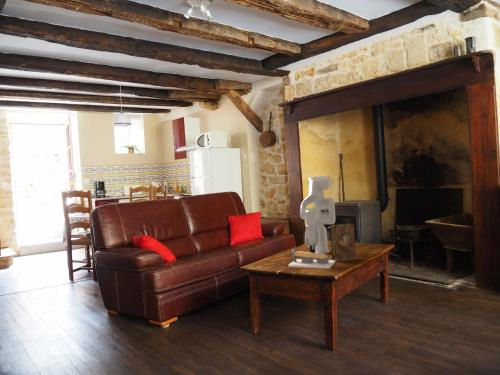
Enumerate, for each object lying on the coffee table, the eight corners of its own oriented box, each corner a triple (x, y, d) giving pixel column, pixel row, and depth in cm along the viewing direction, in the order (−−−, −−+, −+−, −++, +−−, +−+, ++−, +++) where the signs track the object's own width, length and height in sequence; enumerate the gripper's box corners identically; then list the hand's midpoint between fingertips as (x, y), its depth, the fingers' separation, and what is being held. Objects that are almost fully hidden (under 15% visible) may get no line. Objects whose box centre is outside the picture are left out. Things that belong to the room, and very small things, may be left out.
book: (353, 258, 295) (351, 223, 294) (357, 259, 289) (355, 224, 288) (331, 260, 291) (330, 225, 291) (335, 262, 286) (333, 226, 285)
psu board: (296, 261, 296) (295, 253, 296) (335, 262, 285) (334, 254, 285) (288, 266, 279) (288, 258, 279) (329, 268, 268) (329, 259, 268)
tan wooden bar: (294, 255, 289) (293, 249, 289) (326, 259, 271) (326, 252, 271) (291, 256, 287) (290, 250, 286) (323, 260, 269) (323, 253, 269)
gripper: (313, 226, 287) (314, 252, 288) (300, 229, 277) (301, 256, 277) (322, 226, 282) (323, 253, 283) (309, 229, 271) (311, 257, 272)
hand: (312, 254), depth 280 cm, fingers closed
